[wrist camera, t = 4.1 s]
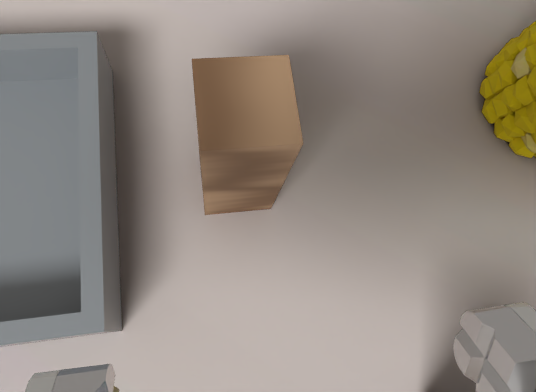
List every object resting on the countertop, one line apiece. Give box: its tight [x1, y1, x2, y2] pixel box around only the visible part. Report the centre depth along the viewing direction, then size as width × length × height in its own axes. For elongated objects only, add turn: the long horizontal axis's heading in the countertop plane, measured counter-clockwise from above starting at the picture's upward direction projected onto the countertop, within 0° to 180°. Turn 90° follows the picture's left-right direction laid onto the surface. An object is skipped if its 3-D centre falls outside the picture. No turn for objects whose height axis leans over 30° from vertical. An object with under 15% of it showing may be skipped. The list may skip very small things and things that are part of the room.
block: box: [192, 55, 303, 215], centre depth 22 cm, size 4×4×10 cm
